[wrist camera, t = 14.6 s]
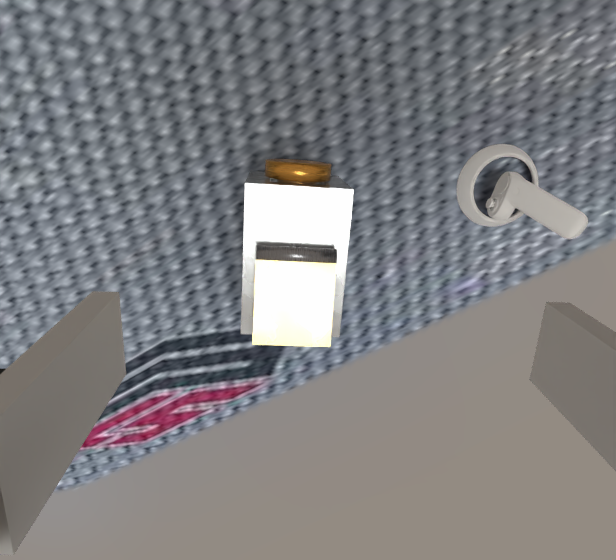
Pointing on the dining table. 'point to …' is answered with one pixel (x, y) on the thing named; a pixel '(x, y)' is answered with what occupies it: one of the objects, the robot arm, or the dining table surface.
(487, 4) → the dining table surface
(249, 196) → the block
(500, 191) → the grey ring with handle
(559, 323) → the robot arm
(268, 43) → the dining table surface
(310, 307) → the plate
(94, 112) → the dining table surface
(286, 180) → the pin
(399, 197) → the dining table surface
